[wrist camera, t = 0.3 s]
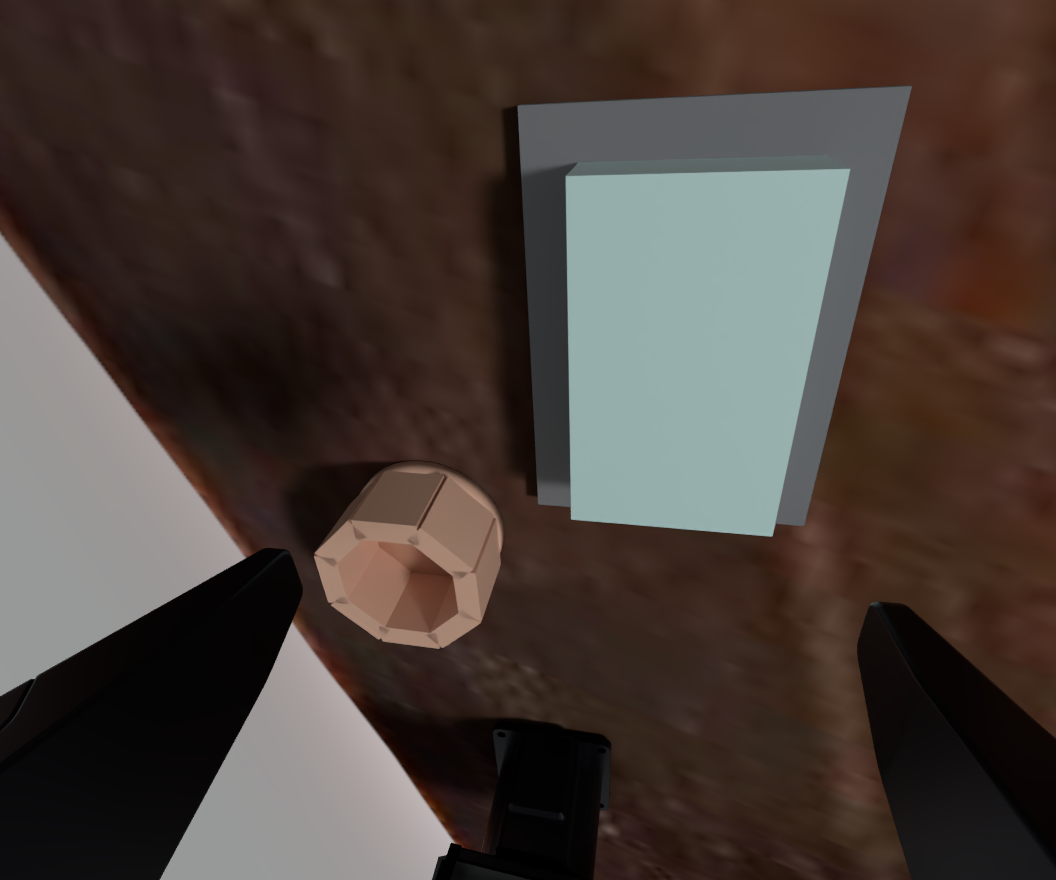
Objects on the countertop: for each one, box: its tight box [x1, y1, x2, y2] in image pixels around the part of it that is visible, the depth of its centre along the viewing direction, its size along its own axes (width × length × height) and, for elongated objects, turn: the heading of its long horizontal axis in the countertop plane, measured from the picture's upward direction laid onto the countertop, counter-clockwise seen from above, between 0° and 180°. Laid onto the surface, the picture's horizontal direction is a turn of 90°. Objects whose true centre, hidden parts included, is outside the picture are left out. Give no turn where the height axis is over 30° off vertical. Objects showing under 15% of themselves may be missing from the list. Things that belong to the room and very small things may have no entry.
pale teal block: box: [566, 155, 850, 536], centre depth 18 cm, size 11×7×3 cm, turn 3°
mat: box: [518, 86, 912, 526], centre depth 20 cm, size 14×10×1 cm
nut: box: [314, 461, 504, 649], centre depth 25 cm, size 7×7×4 cm
